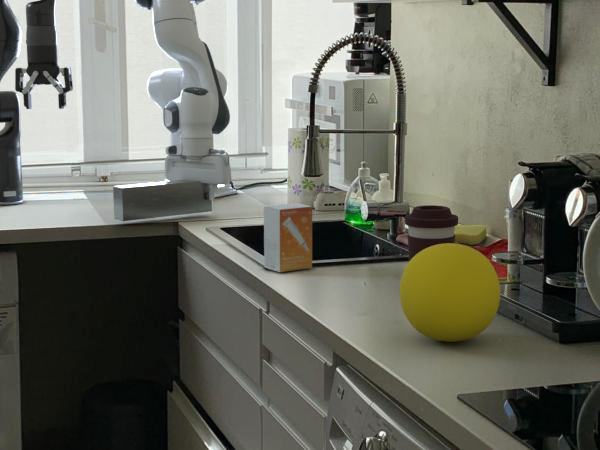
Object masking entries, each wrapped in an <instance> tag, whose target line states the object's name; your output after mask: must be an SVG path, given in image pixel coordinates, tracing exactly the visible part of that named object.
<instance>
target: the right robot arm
mask: <svg viewBox="0 0 600 450" xmlns="http://www.w3.org/2000/svg"><path fill="white" fill-rule="evenodd" d="M134 1H135V2H136V5H137V6H138V7H140V8H141V9H142V10H143V9H144V10H148V11H151V10H152V27H153V34H154V38H155V42H156V44H157V46H158V47H159V49H160V50H161V51H162V52H164V54H165V55H166V56H167V57H168V58H170V59H171V60H174V61H175V62H176V63H177V64H178V65H179V66H180V67H181V68H166V69H161V70H156V71H153V72H152V73H151V74H150V76H149V77H148V80H147V83H146V91H147V95H148V97H149V98H150V99H151V101H152V102H153V103H155V104H156V105H157V106H158V107H159V108H160V110H161V111H162V112H163V115H162V117H163V119H162V120H163V125H164V127H165V128H166V129H167V130H168V131H169V138H170V141H169V142H170V145H168V146H166V147H165V154H166V156H165V159H164V177H165V179H164V182H165V181H177V180H193V181H201V183H206V184H209V188H211V189H210V192H209V193H208V194H206V197H207V198H206V199H207V200H212V201H214V200H215V198H219V197H224V196H229V195H234V194H238V191H241V190H244V189H247V188H251V187H255V186H260V185H280V184H281V185H282V184H285V183H287V182H288V181H287V178H285V179H284V180H280V181H279V180H278V181H259V182H253V183H249V184H245V185H243V186H241V187H235V185H234V183H233V181H232V170H231V164H230V155H229V153H228V152H227V151H225V150H224V149H216V148H214V135H220V134H221V133H222V132H224V131H225V129H226V128H227V127H228V126H229V123H230V121H231V114H230V109H229V106H228V104H227V102H226V99H225V98H226V96H227V94H228V89H229V88H228V87H229V86H228V85H229V84H228V81H227V78H226V76H225V75H224V73H223V72H221V71H220V70H219V69H217V67H216V66H215V63H214V59H213V56H212V54H211V51H210V48H209V46H208V44H207V43H206V42H205V41H203V40H202V39H201V38H200V36H199V29H198V24H197V23H198V22H197V16H196V12H195V7H194V4H195V5H196V6H198V5H199V4H201V3H203V2H205V0H134ZM230 186H231V188H230Z"/></svg>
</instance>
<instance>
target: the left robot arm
mask: <svg viewBox="0 0 600 450" xmlns="http://www.w3.org/2000/svg"><path fill="white" fill-rule="evenodd" d="M56 1H57V0H34V1H30V2H27V4H26V5H25V19H26V23H25V24H26V30H25V31H26V33H25V34H26V35H25V44H26V59H27V61H26V62H27V67H26V68H24V67H16V68H15V69H14V72H15V73H14V79H15V80H14V81H15V82H14V88H15V89H14V90H15V91H14V90H0V123H1V124H3V123H4V127H3V128H2V129H0V206H11V205H21V204H23V203H24V202H25V201H24V187H23V170H22V169H23V168H22V167H23V166H22V151H21V136H22V135H21V131H22V130H21V101H20V97H19V95H18V93H21V94H22V96H23V106H24V108H26V110H32V109H33V107H32V106H33V105H32V94H31V92H32V90H33V88H35V87H36V85H37V86H43V85H46V86H49V85H51V86H52V87H53V88H55V90H56V91H57V92H58V94H57V99H58V100H57V101H58V109H59V110H64V109H65V107H67V93H69V92H72V91H73V90H74V85H73V76H72V68H71V67H70V66H66V67H65V66H64V67H61V68H60V66H59V52H58V34H57V29H56V12H55V10H56ZM22 29H23V28H22V27H21V23H20V22H19V20H18V18H17V16H16V15H15V13H14V11H13V10H12V8H11V6H10V4H9V1H8V0H0V83H1V82H2V80H3V78H4V77H5V75H6V74H7V73H8V72H9V70H10V69H11V68H12V66H13V65H14V63H15V62H16V61H17V60H18V58H19V56H20V53H21V49H22V38H23V30H22ZM26 74H27V76H28V77H29V79H28V80H27V82H26V83H25V85H24V77H25V76H26ZM60 74H61V76H62V77H64V78H63V79H64V86H63V84H62V82H61V80H59V78H58V77H59V75H60Z"/></svg>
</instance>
